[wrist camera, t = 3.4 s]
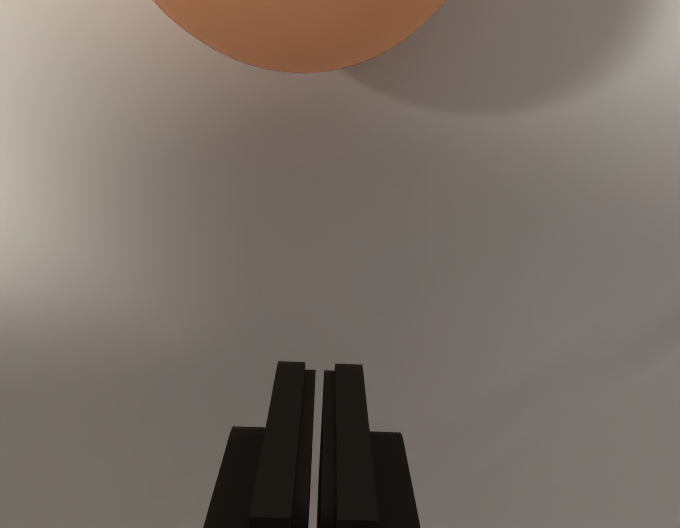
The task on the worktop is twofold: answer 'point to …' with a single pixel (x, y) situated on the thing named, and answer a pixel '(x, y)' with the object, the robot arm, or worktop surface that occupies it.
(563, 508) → the worktop surface
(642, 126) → the worktop surface
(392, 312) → the worktop surface
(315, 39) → the ball
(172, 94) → the worktop surface
